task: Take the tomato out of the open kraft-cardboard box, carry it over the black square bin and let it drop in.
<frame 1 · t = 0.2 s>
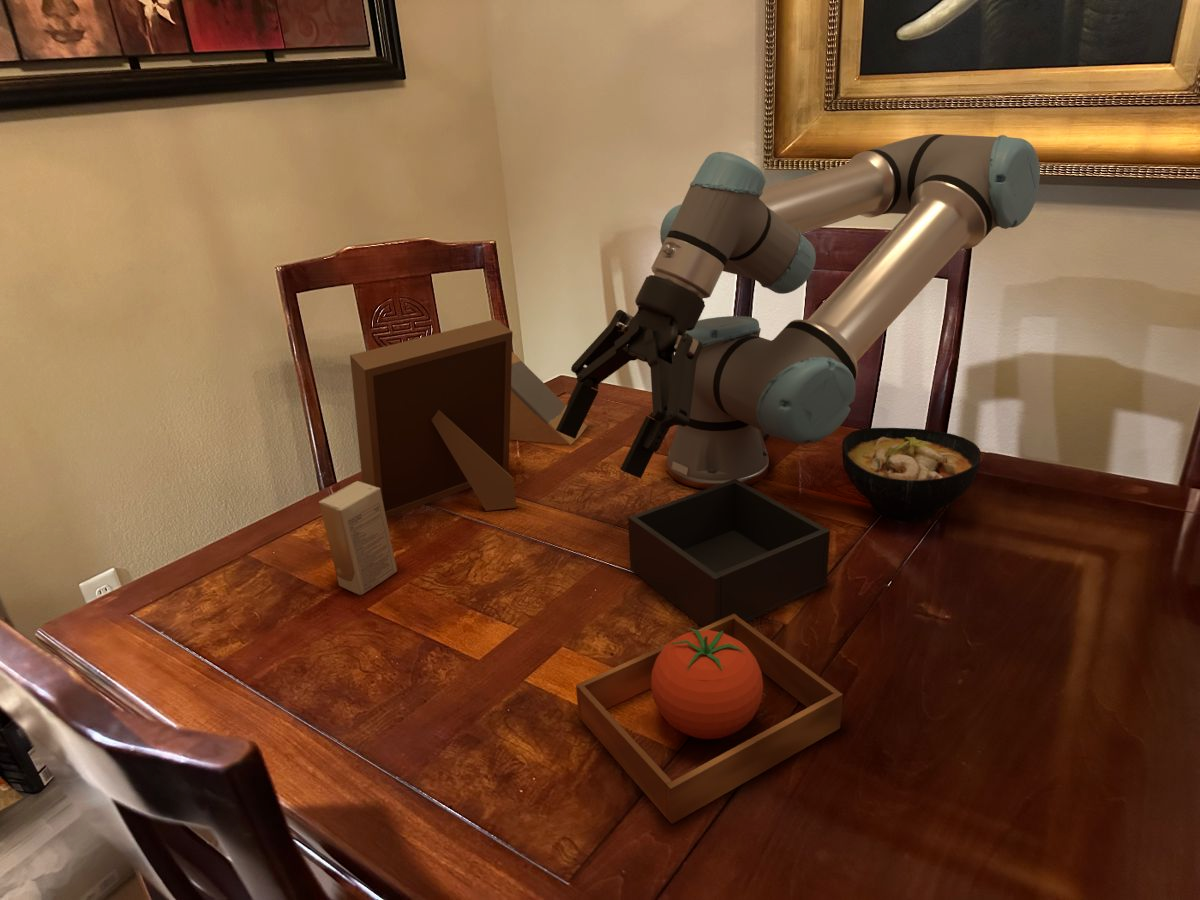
hand: (596, 453, 98), 16 cm above the table, tool tilted 35°, fingers open, 13 cm apart
bowl: (903, 509, 114), on the table
tomato: (706, 724, 79), resting in box
photo frame: (456, 505, 122), on the table
box: (706, 722, 79), on the table
cosmetic box: (368, 581, 105), on the table
sandwich container: (539, 432, 145), on the table
black square bin: (725, 577, 101), on the table
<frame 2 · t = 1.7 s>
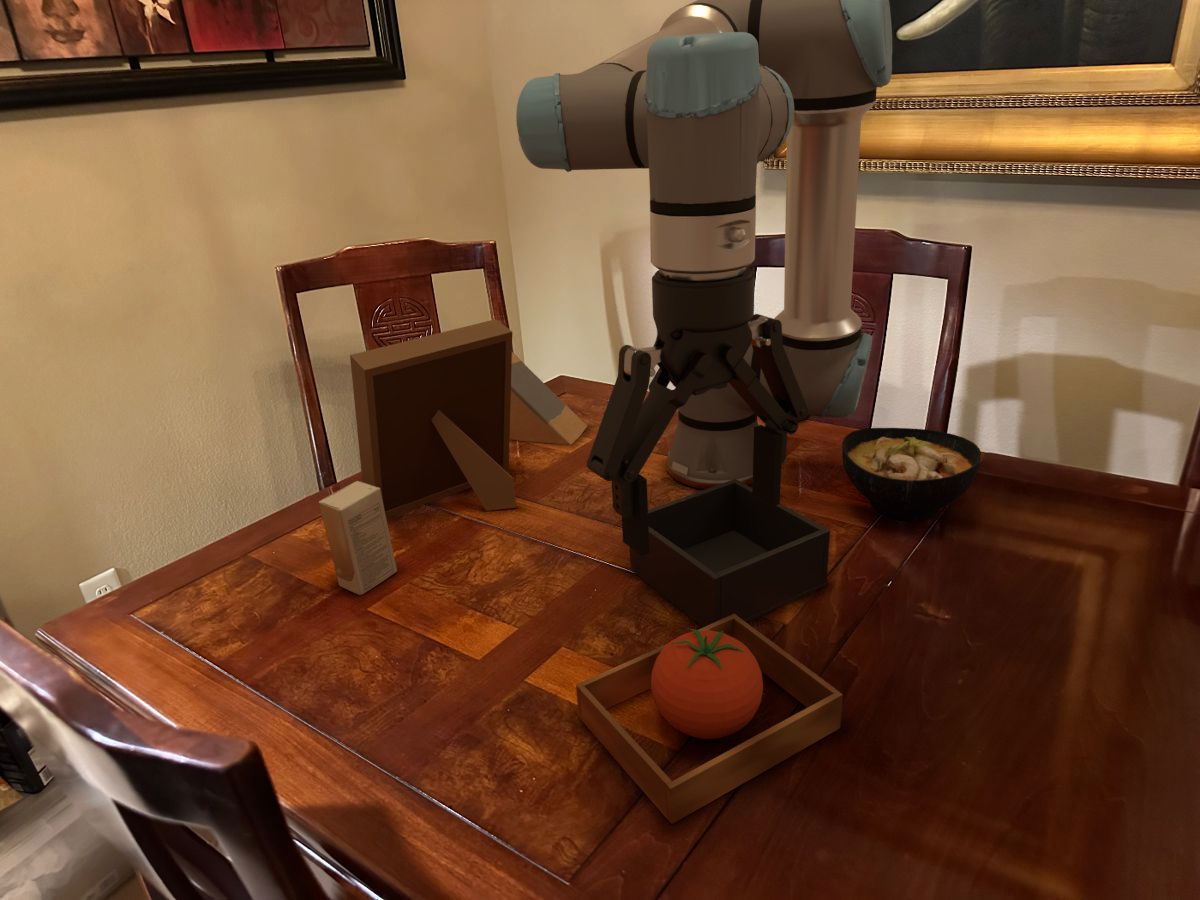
hand: (703, 522, 70), 22 cm above the table, tool pointing down, fingers open, 13 cm apart
nothing on the table moved.
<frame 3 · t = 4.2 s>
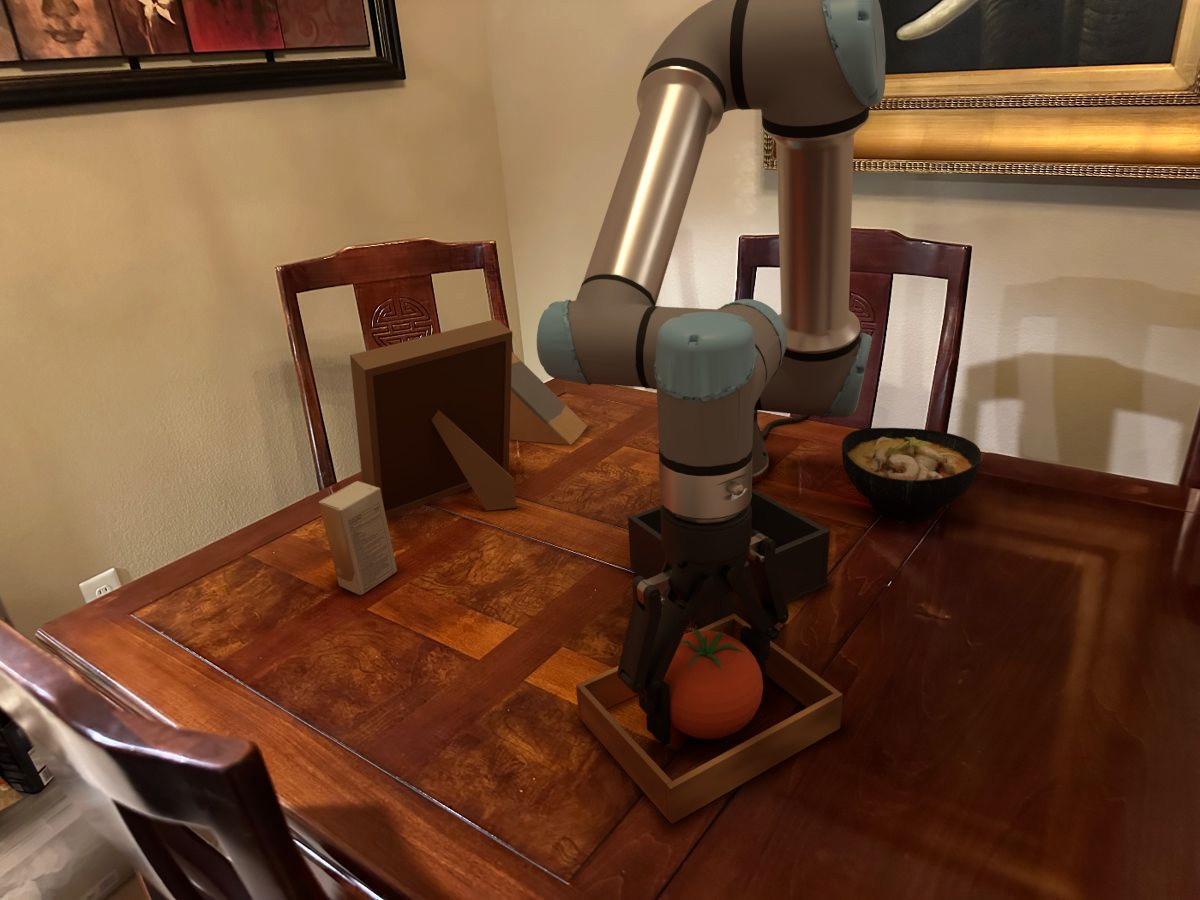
hand: (706, 712, 79), 1 cm above the table, tool pointing down, fingers closed on tomato, 10 cm apart
tomato: (706, 724, 79), resting in box, touching gripper
everything else where it was.
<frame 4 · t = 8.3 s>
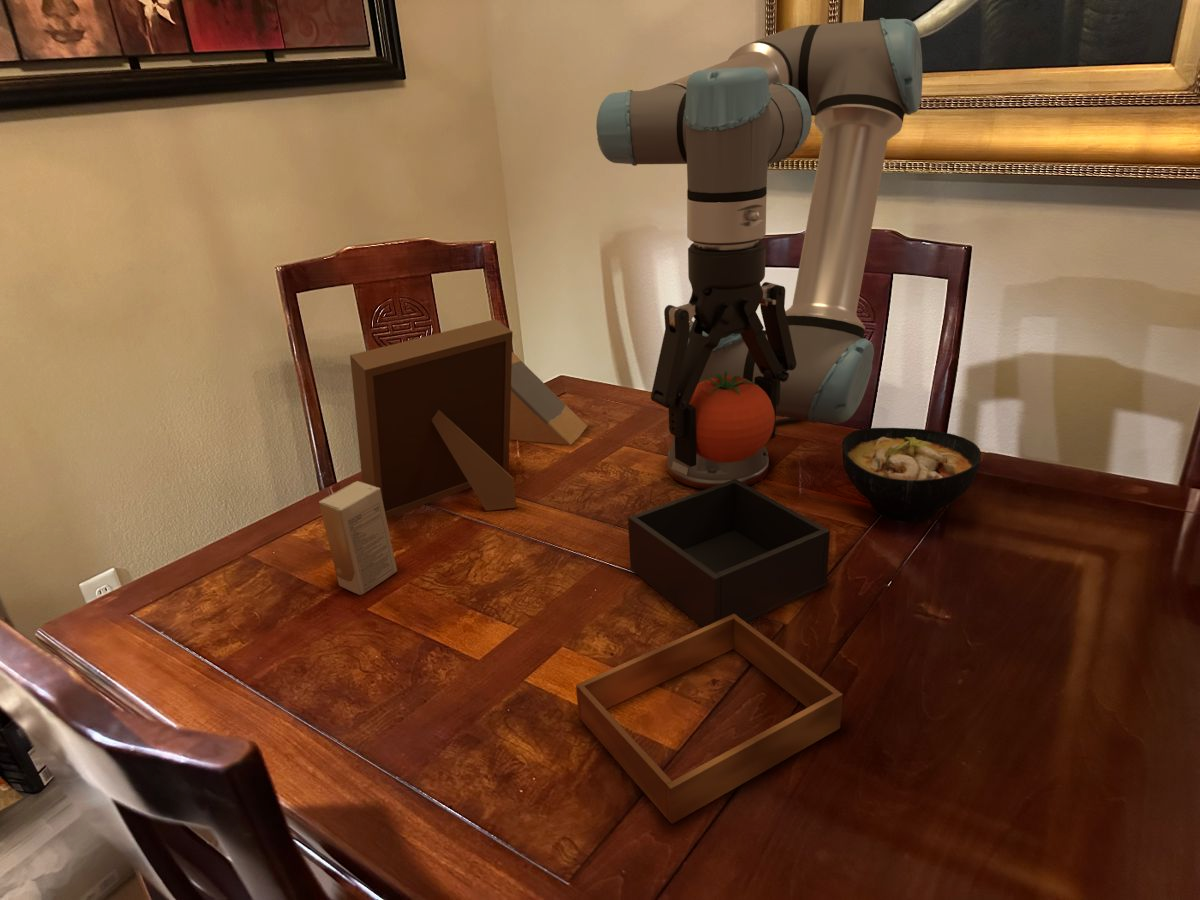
hand: (726, 447, 91), 18 cm above the table, tool pointing down, fingers closed on tomato, 10 cm apart
tomato: (726, 459, 92), point 17 cm above the table, touching gripper
everything else where it was.
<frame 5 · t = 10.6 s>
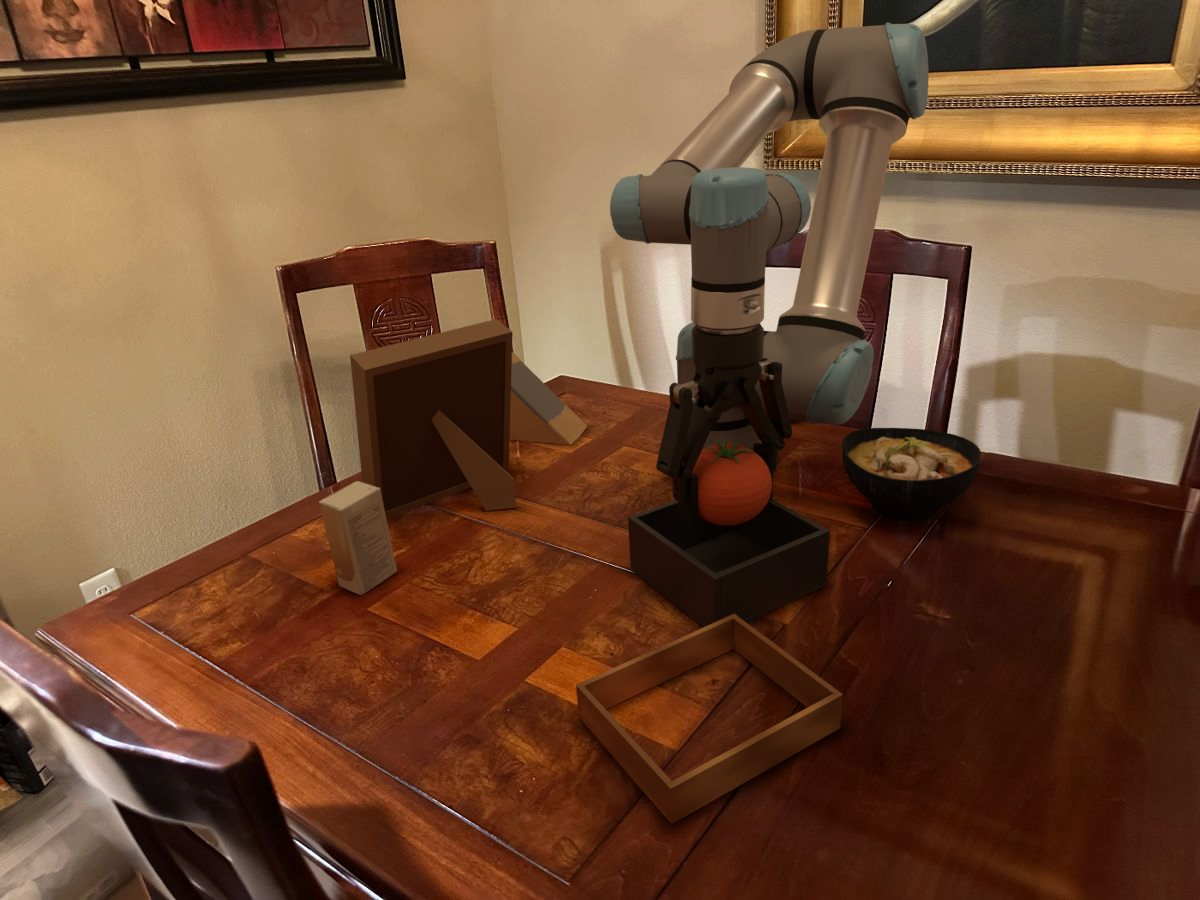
hand: (726, 510, 97), 9 cm above the table, tool pointing down, fingers closed on tomato, 10 cm apart
tomato: (726, 521, 98), point 8 cm above the table, touching gripper
everything else where it was.
when the fingers open (6 cm above the table, at t = 12.2 s): tomato drops 4 cm, resting on black square bin.
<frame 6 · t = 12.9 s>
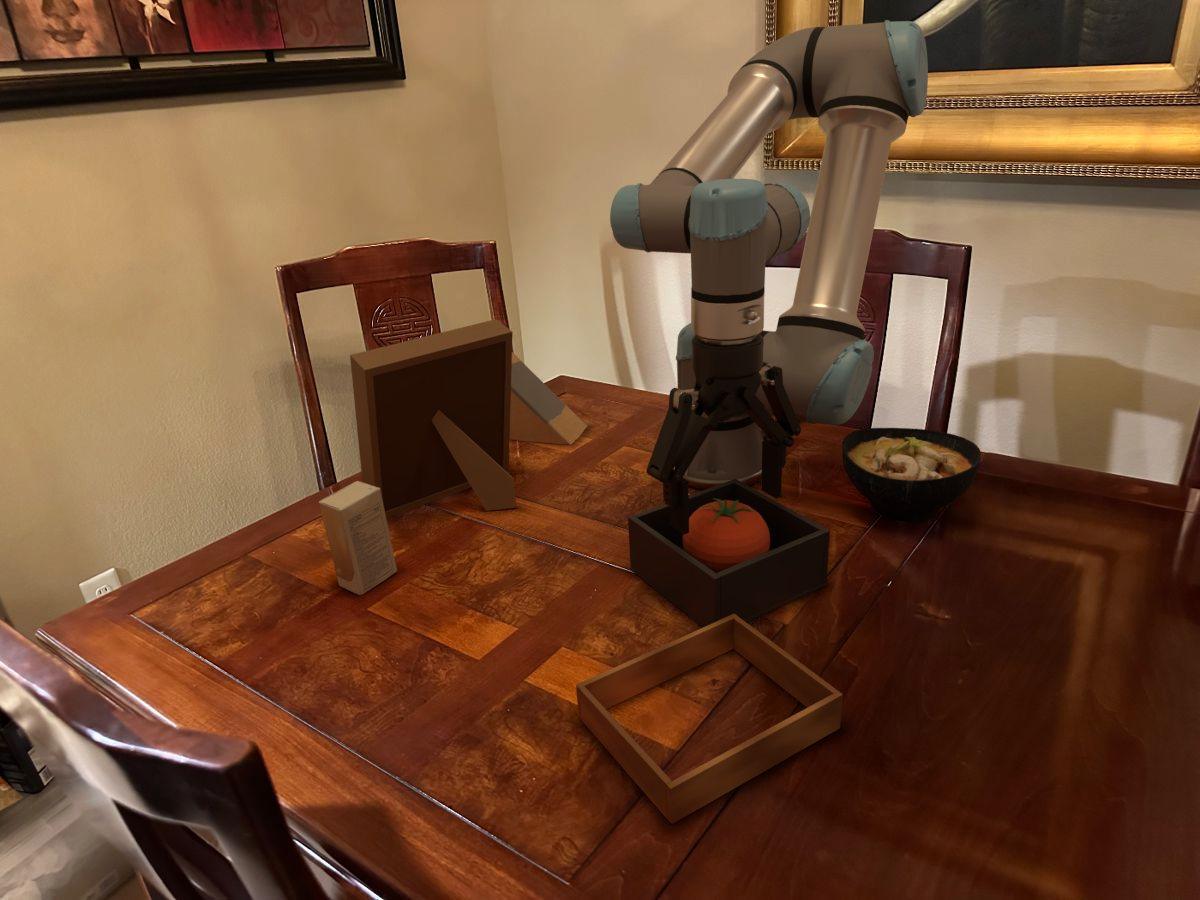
hand: (726, 511, 97), 9 cm above the table, tool pointing down, fingers open, 13 cm apart
tomato: (725, 575, 101), resting on black square bin
everything else where it was.
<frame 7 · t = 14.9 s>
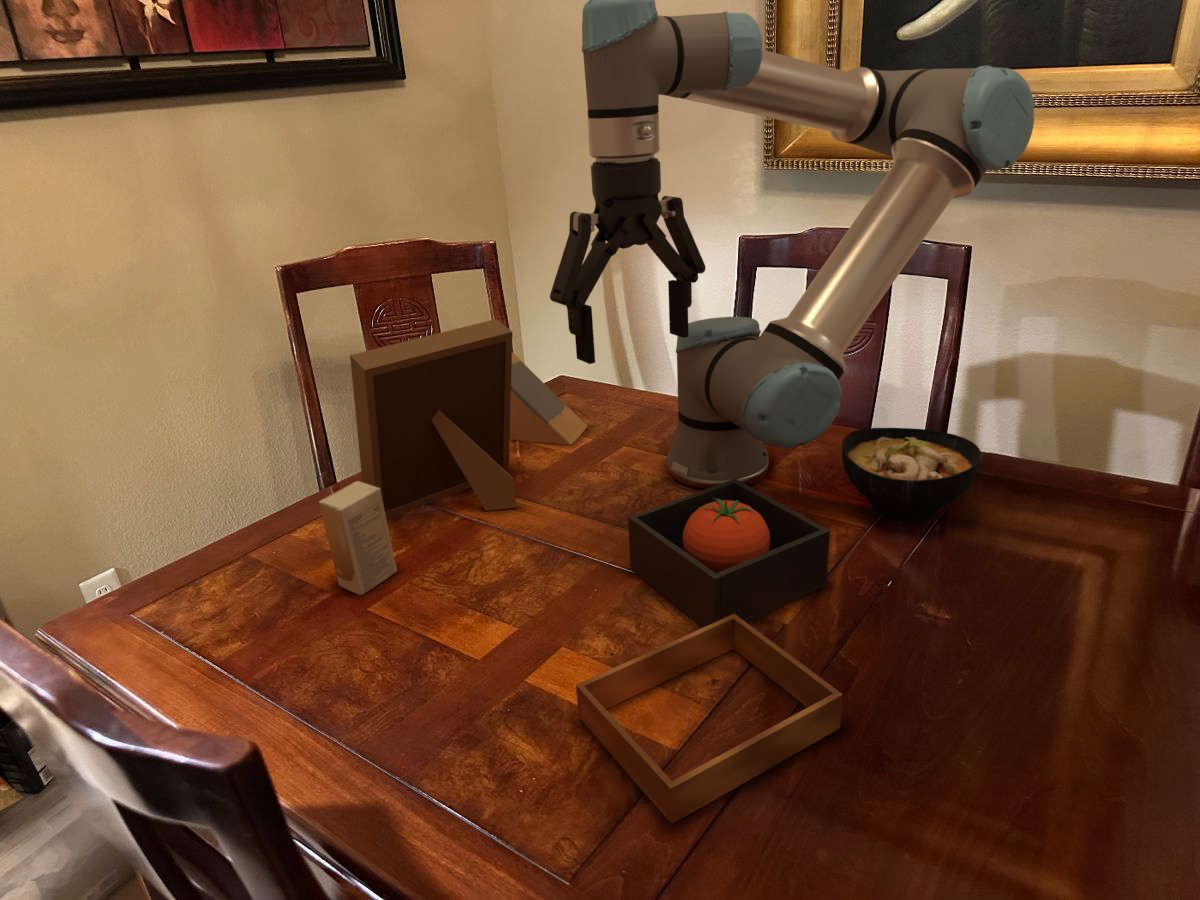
hand: (634, 347, 99), 26 cm above the table, tool pointing down, fingers open, 13 cm apart
nothing on the table moved.
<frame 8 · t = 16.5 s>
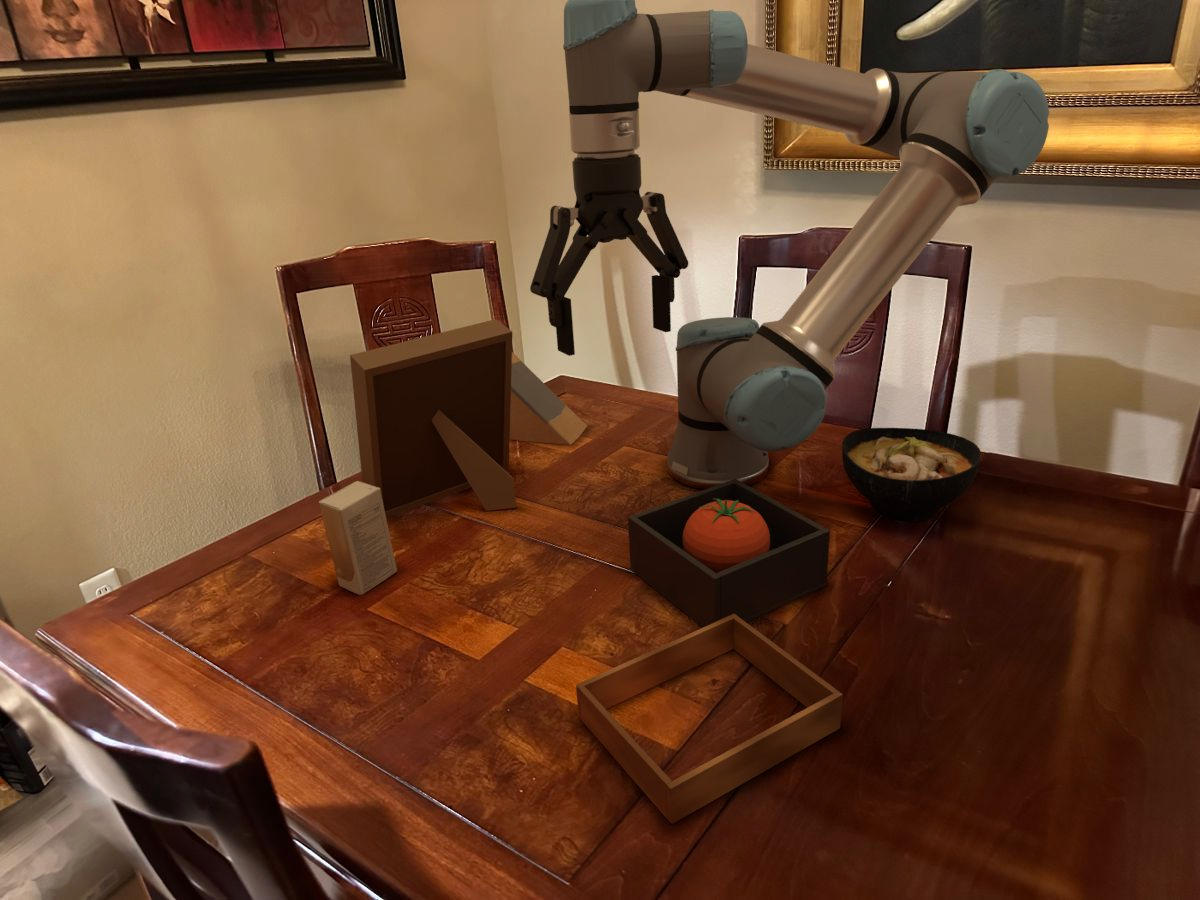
hand: (615, 341, 101), 27 cm above the table, tool pointing down, fingers open, 13 cm apart
nothing on the table moved.
at the end: tomato inside the target area in the black square bin (0.1 cm from its centre), point 0.3 cm above the black square bin's base; tomato moved 24.9 cm from its start; the gripper is holding nothing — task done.
